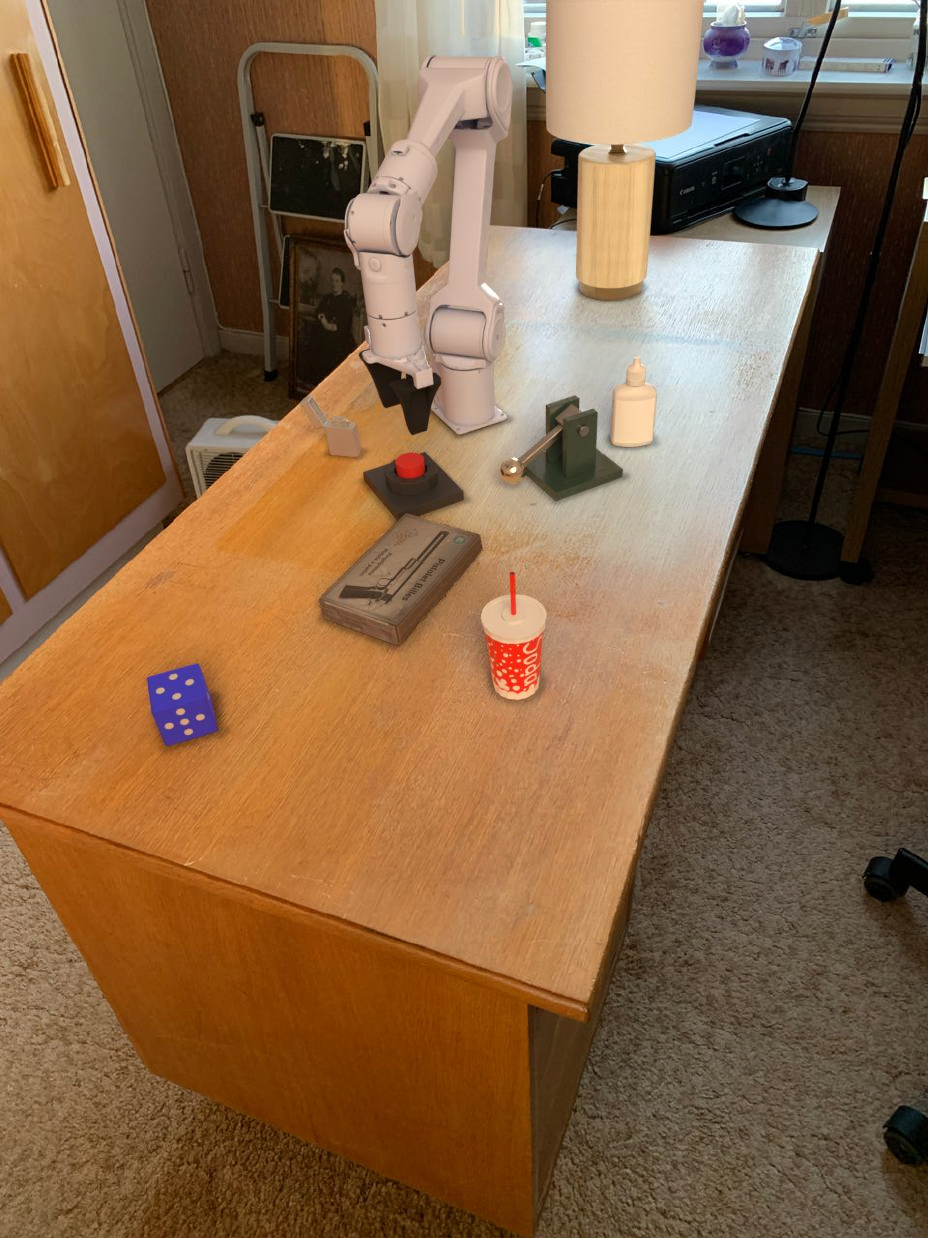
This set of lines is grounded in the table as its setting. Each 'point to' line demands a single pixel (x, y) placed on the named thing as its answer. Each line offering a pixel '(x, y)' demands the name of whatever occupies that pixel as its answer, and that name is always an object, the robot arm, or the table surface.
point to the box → (400, 578)
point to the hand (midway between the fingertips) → (404, 418)
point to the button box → (413, 489)
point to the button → (410, 465)
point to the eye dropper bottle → (633, 409)
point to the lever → (534, 450)
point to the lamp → (618, 120)
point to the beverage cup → (514, 642)
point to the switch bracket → (572, 454)
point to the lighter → (334, 429)
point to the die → (181, 704)
